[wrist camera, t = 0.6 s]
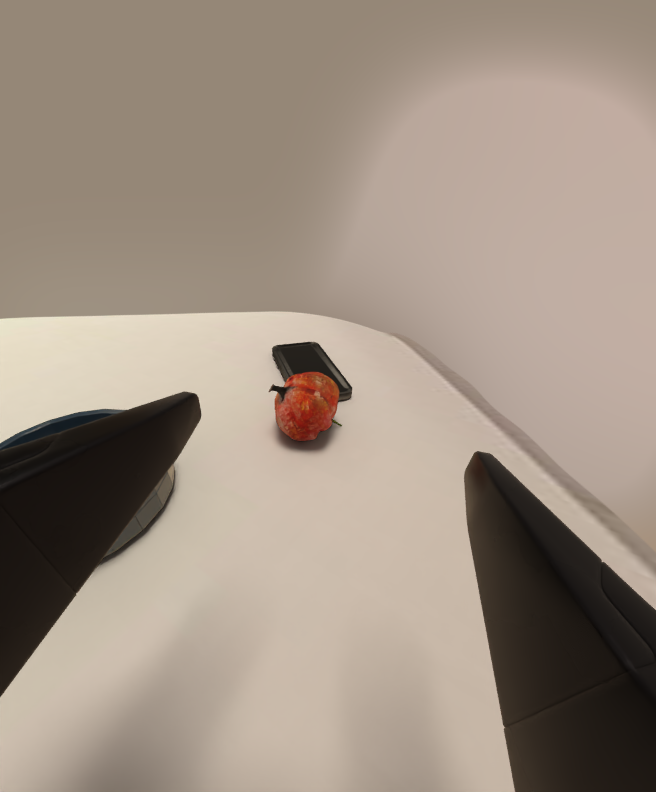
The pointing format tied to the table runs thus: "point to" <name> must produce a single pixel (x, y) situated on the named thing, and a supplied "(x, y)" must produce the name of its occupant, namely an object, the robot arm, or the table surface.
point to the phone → (309, 364)
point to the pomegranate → (306, 405)
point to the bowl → (80, 418)
